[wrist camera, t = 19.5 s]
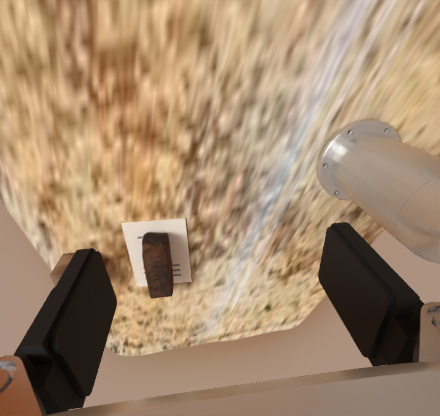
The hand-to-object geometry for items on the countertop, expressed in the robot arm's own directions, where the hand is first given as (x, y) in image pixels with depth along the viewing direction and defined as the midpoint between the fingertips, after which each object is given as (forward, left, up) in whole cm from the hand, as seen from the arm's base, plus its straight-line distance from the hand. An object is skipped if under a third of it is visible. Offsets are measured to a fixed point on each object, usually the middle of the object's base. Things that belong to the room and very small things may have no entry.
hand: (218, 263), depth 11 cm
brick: (+8, +22, -28) cm, 36 cm away
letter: (+8, +22, -28) cm, 36 cm away
